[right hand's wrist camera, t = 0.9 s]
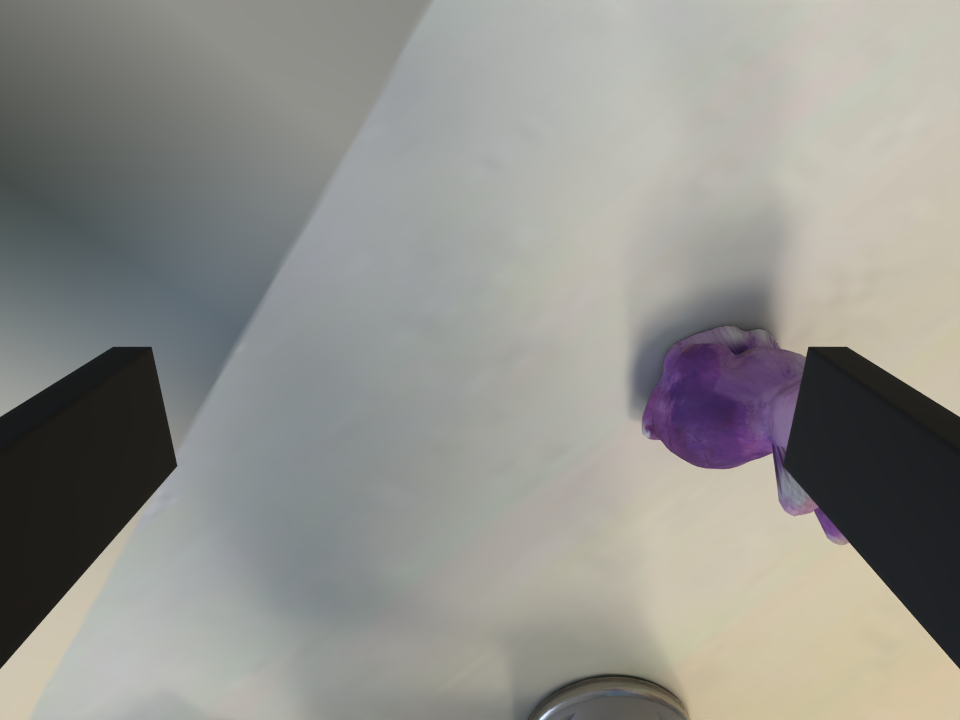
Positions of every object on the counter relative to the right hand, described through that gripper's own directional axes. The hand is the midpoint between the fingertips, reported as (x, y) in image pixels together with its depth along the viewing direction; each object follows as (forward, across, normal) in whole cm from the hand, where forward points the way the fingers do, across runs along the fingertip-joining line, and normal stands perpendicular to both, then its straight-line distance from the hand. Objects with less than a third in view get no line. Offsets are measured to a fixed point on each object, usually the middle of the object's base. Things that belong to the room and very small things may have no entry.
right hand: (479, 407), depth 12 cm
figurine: (+27, -16, +11) cm, 33 cm away
